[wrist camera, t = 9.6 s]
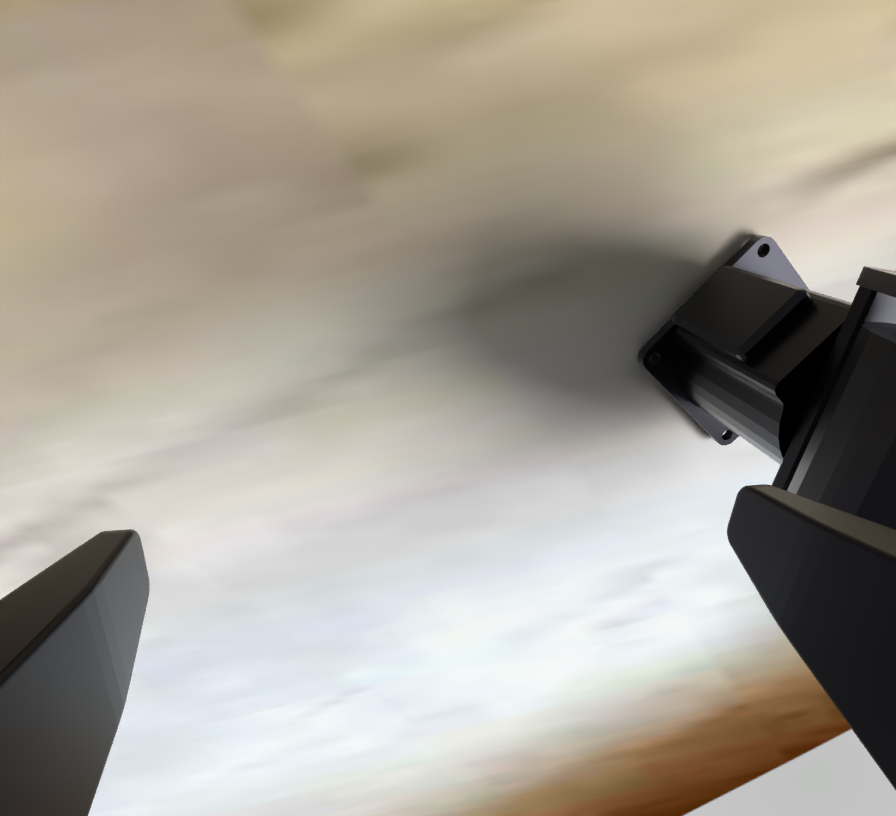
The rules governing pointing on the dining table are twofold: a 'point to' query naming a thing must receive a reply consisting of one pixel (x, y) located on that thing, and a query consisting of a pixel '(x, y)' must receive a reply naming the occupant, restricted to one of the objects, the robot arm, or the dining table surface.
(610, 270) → the dining table surface
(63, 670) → the robot arm
